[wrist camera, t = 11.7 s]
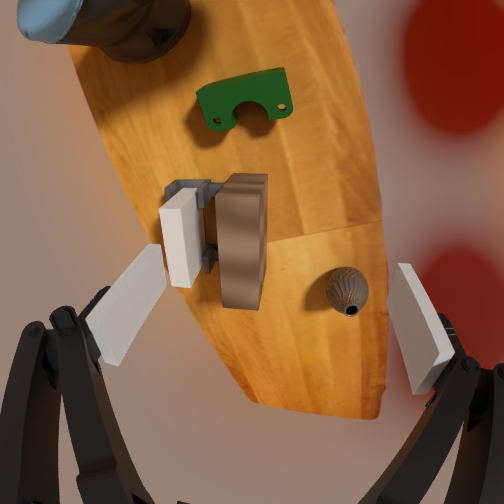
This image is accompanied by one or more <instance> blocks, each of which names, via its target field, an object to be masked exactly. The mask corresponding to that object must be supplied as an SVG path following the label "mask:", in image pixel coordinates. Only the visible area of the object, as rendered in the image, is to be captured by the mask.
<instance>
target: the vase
mask: <svg viewBox="0 0 504 504" xmlns="http://www.w3.org/2000/svg"><path fill="white" fill-rule="evenodd" d="M368 292H369V289H368V284H367V281H366V279H365V277H364V275H363V274H362V273H361V272H360V271H359V270H357V269H355V268H352V267H342V268H339V269H337V270H335V271H334V272H333V273H332V274H331V276H330V277H329V279H328V282H327V286H326V293H327V298H328V301H329V303H330V304H331V306H332V307H333V308H334V309H335V310H336V311H338V312H340V313H343V314H345V315H346V316H349V317H352V316H355V315H357V314H358V313H359V311H360V309H361V308H362V307H363V306H364V305H365V303H366V301H367V298H368Z"/></svg>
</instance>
